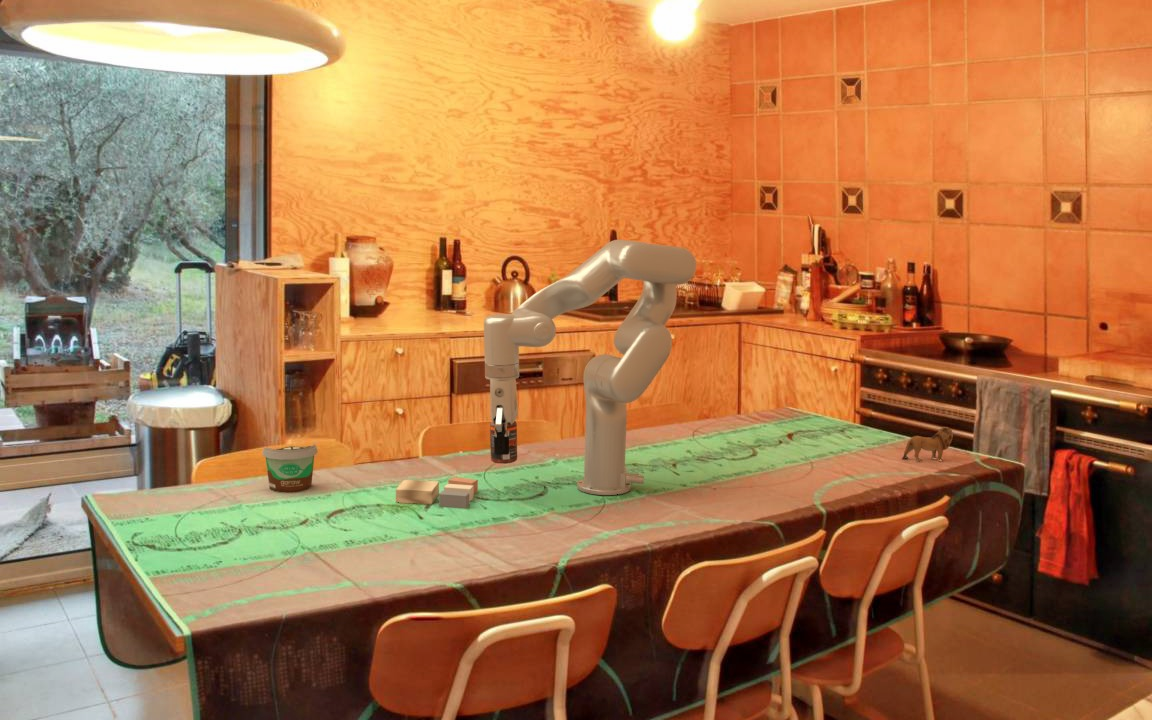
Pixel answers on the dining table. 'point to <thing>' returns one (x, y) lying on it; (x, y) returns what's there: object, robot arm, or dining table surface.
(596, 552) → the dining table surface
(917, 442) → the lion figurine
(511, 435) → the supplement bottle
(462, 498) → the brick slate
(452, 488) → the brick cream
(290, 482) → the food container
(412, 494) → the oak slab
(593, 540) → the dining table surface
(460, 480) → the brick terracotta
